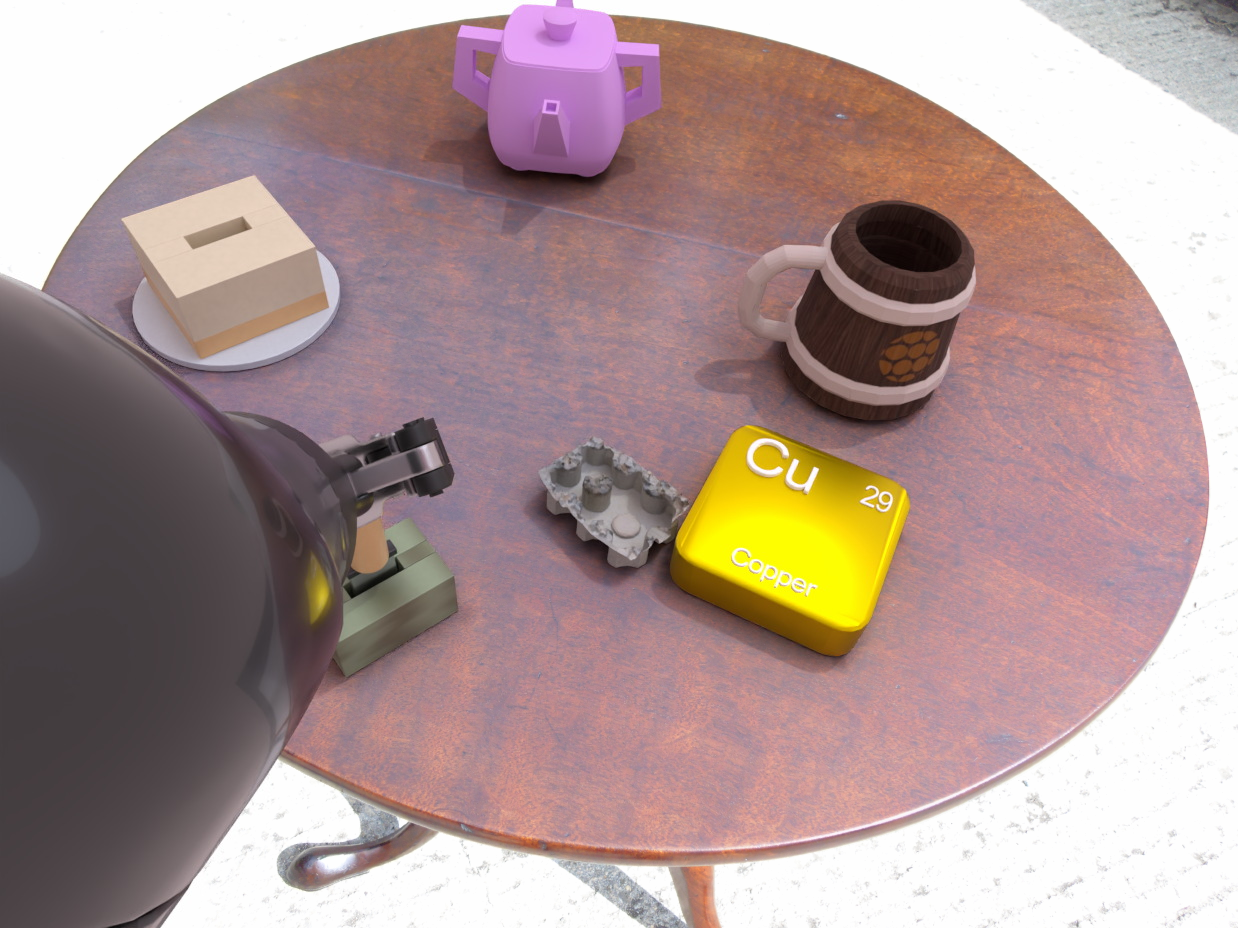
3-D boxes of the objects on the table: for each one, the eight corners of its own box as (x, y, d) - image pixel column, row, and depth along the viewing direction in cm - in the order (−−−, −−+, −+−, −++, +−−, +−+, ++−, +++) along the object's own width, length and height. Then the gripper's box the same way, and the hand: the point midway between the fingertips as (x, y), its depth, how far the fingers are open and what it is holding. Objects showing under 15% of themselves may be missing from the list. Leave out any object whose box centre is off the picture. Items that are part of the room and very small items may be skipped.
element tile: (659, 582, 70) (667, 548, 66) (731, 448, 79) (741, 411, 75) (847, 668, 67) (866, 637, 63) (900, 518, 75) (920, 484, 72)
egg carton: (689, 533, 73) (697, 503, 70) (620, 585, 69) (625, 557, 66) (600, 450, 77) (603, 419, 74) (530, 496, 74) (531, 465, 70)
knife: (369, 639, 65) (332, 513, 53) (351, 612, 66) (312, 483, 54) (414, 612, 67) (388, 485, 54) (396, 587, 68) (367, 456, 55)
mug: (922, 318, 91) (981, 189, 79) (949, 435, 81) (1021, 309, 70) (723, 300, 90) (752, 167, 78) (727, 415, 81) (761, 285, 69)
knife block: (346, 678, 63) (334, 644, 59) (305, 615, 66) (291, 579, 62) (458, 610, 67) (454, 575, 63) (416, 553, 70) (409, 516, 66)
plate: (103, 363, 79) (100, 356, 78) (173, 231, 90) (171, 224, 89) (315, 379, 80) (313, 373, 79) (358, 246, 91) (357, 240, 90)
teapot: (562, 84, 112) (565, -46, 100) (671, 152, 105) (690, 21, 93) (437, 141, 103) (425, 6, 91) (548, 220, 96) (551, 85, 84)
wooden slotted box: (200, 359, 79) (176, 298, 73) (147, 281, 84) (120, 218, 79) (329, 307, 84) (315, 246, 78) (270, 236, 89) (254, 174, 84)
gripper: (405, 331, 25) (411, 364, 41) (-144, 516, 23) (87, 475, 39) (500, 580, 26) (470, 518, 42) (-19, 785, 24) (157, 638, 40)
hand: (287, 498), depth 40 cm, fingers open, 8 cm apart
